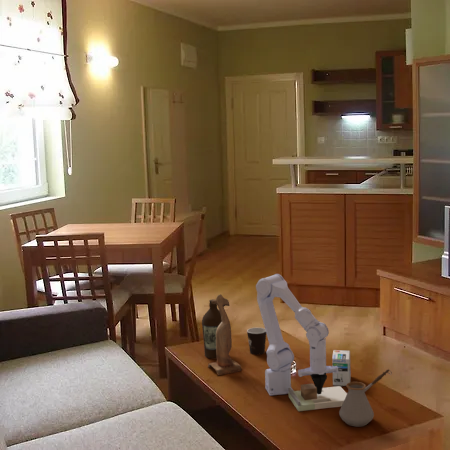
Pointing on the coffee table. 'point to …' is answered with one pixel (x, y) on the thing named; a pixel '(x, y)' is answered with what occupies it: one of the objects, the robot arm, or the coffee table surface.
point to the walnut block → (308, 391)
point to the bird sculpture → (224, 342)
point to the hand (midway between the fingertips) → (318, 393)
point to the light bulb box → (341, 367)
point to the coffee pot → (358, 404)
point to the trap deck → (319, 399)
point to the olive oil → (211, 329)
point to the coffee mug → (256, 340)
